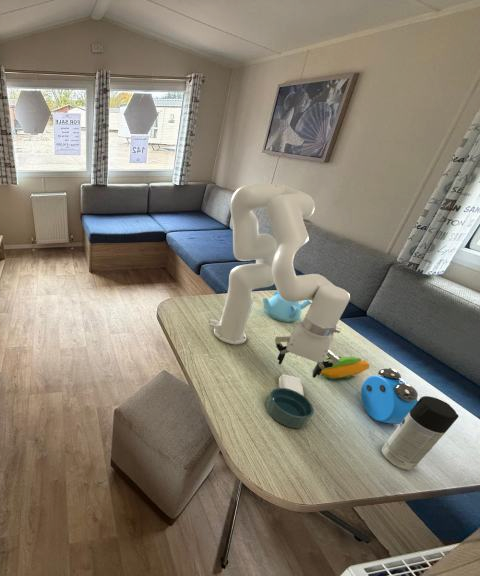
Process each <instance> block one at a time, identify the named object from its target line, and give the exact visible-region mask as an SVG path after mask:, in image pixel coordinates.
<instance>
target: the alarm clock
mask: <svg viewBox="0 0 480 576" xmlns="http://www.w3.org/2000/svg"><path fill="white" fill-rule="evenodd" d="M360 391H361V392H360V395H361V396H360V397H361V402H362V405H363V408H364V410H365V412H366V413H367V414H368V416H370V418H372V419H373V420H375V421H377V422H380V423H387V424H391V426H394V425H400V424H401V422H402V421H403V420H404V418H405V417H406V416H407V415H408V413H409V412H410V410H411V409H412V408H413V407H414V406H415V404H416V403H417V402H418V401H419V400H418V397H419V395H418V391H417V389H415V387H414V386H412V385H411V384H409V383H408V382H407V381H405V380H404V379H402V375H401V374H400V373H399V372H398V371H397V370H395V369H392V368H391V367H389V368H381V369H379V371H377V374H375V375H370V376H369V377H367V378H366V379H365V380H364V381H363V383H362V386H361V389H360Z"/></svg>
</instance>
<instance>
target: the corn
mask: <svg viewBox="0 0 480 576" xmlns="http://www.w3.org/2000/svg"><path fill="white" fill-rule="evenodd" d="M337 357H338V358H339V359H340V363H338V364H336V365H333V366H332V367H328V368H325V369H322V371H321V373H320V375H321V376H323V377H325V378H328V379H331V380H344V379H351V378H354V377H356V375H359V374H361V373H363V372H364V371H367V370H368V369H370V363H369V362H368V361H366V360H365V359H364V360H363V359H361V358H359V357H355V356H337ZM331 360H332V359H330V358H329V357H328V356H326V358H325V360H324V361H331Z"/></svg>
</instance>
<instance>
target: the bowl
mask: <svg viewBox="0 0 480 576" xmlns="http://www.w3.org/2000/svg"><path fill="white" fill-rule="evenodd" d="M265 406H266V411H267V412H268V414H269V415H270V416H271V417H272V418H273V419H274V420H275V421H277V422H278V423H280V424H281V425H283V426H286V427H288V428H291V429H303V428H306V427H307V426H308V424H309V423H310V421H311V419H312V417H313V415H314V411H315V409H314V406H313V404H312V402H311V401H310V400H309V399H308V398H307V397H305V395H304V396H303V395H301V394H300V393H298V392H296V391H293V390H291V389H287V388H279V387H276V388H274V389H272V390H271V391H270V394H269V396H268V399H267V402H266V405H265Z"/></svg>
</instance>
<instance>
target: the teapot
mask: <svg viewBox="0 0 480 576" xmlns="http://www.w3.org/2000/svg"><path fill="white" fill-rule="evenodd" d="M262 302H263V308H264V311H265V313H266V314H267V315H268V316H269V317H270V318H271V319H273V320H276V321H279V322H283V323H293V322H295V321H298V320H299V319H300V318H301V316H302V310H303V309H305V308H306V307H308V306H310V305H311V303H312V301H311V300H303V301H301V303H300V301H297V302H289V301H286V300H284V299H283V298H282V297H281V296H280V295H279V293H278V291H277V290H275V292H274V293H273V296H272V297H270V298H269V299H268V297H262Z"/></svg>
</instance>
